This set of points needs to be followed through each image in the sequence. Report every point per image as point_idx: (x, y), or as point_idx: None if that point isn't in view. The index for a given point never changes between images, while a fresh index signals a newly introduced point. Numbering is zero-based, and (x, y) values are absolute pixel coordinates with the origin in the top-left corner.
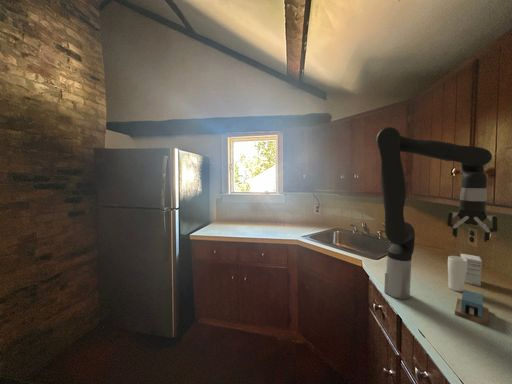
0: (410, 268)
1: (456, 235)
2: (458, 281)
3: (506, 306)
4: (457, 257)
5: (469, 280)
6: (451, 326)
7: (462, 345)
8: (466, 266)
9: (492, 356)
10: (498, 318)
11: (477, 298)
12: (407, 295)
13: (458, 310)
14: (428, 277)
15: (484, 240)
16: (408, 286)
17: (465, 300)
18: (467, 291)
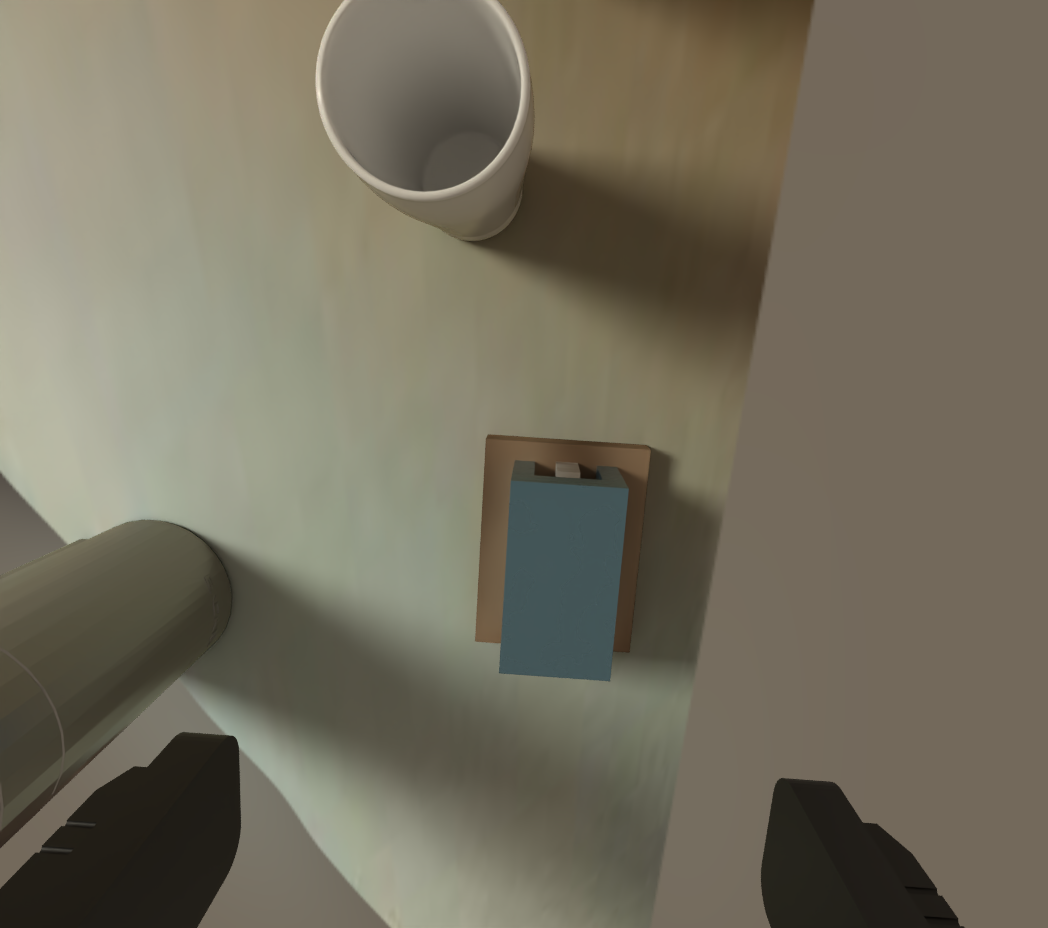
0: (75, 746)
1: (203, 905)
2: (478, 231)
3: (760, 275)
4: None
5: None
6: (467, 770)
7: (512, 894)
8: (524, 159)
9: (611, 893)
10: (685, 508)
11: (588, 587)
12: (213, 640)
13: (492, 624)
14: (264, 62)
15: (774, 917)
16: (177, 669)
17: (519, 673)
18: (534, 504)
